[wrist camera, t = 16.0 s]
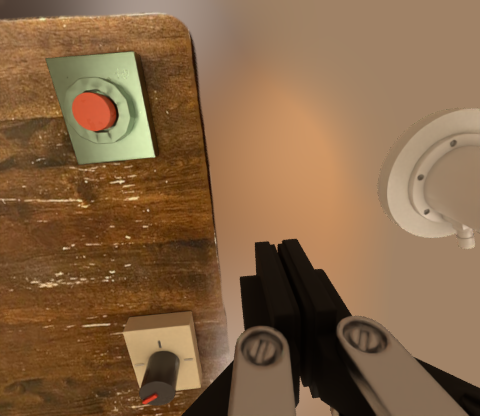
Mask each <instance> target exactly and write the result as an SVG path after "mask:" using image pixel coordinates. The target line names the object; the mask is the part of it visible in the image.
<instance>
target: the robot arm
mask: <svg viewBox="0 0 480 416" xmlns="http://www.w3.org/2000/svg"><path fill="white" fill-rule="evenodd" d="M408 196H409V200H410V203H411V205H412V207H413V209H414V210H415V211H416V212H417V213H418V214H419V215H421V216H422V217H424V218H426V219H428V220H430V221H432V222H438V223H451V224H452V225H453V229H455V230H457V235H456V236H457V243H458V246H459V247H460V248H464V249H470V248H473V247H474V246H475V240H474V234H473V230H476V231H477V232H478V233H480V134H478V133H458V134H453V135H451V136H448V137H445V138H444V139H442V140H440V141H438V142H437V143H435V144H434V145H433V146H431V147H430V148H429V149H428V150H427V151H426V152H425V153H424V154H423V155H422V156H421V158H420V159H419V160H418V162H417V163H416V165H415V167H414V169H413V171H412V173H411V176H410V179H409V185H408ZM255 258H256V275H254V276H243V277H240V286H241V298H242V309H243V319H244V328H245V331H244V332H243V333H242V334H241V335H240V336H239V338H238V339H237V342H236V346H235V354H234V360H233V361H232V362H231V363H230V365H229V366H228V367H227V368H226V369H225V370H224V371H223V372H222V373H221V374H220V375H219V376H218V377H217V378H216V379H215V380H214V382H213V383H212V384H211V385H210V386H209V387H208V388H207V389H206V390H205V391H204V392H203V393H202V394H201V395H200V396H199V397H198V399H197V400H196V401H195V402H194V403H193V404H192V405H191V406H190V407H189V408H188V409H187V410H186V411H185V412H184V413H183V414H182V416H296V410H295V408H296V406H297V405H298V403H299V385H300V378H301V381H302V384H303V386H304V387H307V386H309V388H310V392H311V395H312V398H318V397H320V399H321V400H322V401H323V402H325V403H326V404H328V405H329V406H330V411H331V414H332V416H480V388H478V387H476V386H474V385H472V384H470V383H467V382H465V381H463V380H461V379H459V378H457V377H455V376H453V375H451V374H449V373H446V372H444V371H442V370H440V369H438V368H436V367H434V366H432V365H430V364H427V363H425V362H423V361H421V360H419V359H417V358H415V357H413V356H412V355H411V354H410V353H409V352H408V351H407V350H406V349H405V348H404V347H403V346H402V345H401V344H400V342H399V341H398V340H397V339H396V338H395V337H394V336H393V335H392V334H391V333H390V332H389V331H388V330H387V329H386V328H385V327H384V326H382V325H381V324H380V323H378V322H376V321H374V320H372V319H370V318H366V317H362V316H352V315H351V313H350V312H349V310H348V309H347V307H346V305H345V304H344V302H343V301H342V299H341V297H340V296H339V294H338V293H337V291H336V289H335V288H334V286H333V285H332V283H331V281H330V280H329V278H328V277H327V275H326V273H325V272H324V271H323V270H322V269H315V270H314V268H313V266H312V265H311V263H310V261H309V259H308V258H307V256H306V254H305V252H304V251H303V249H302V247H301V245H300V244H299V242H298V240H297V239H288V240H283V241H282V244H278V253H277V250H276V247H275V245H274V244H273V245H270V244H269V242H256V243H255Z"/></svg>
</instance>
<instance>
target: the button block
mask: <svg viewBox="0 0 480 416" xmlns="http://www.w3.org/2000/svg"><path fill="white" fill-rule="evenodd" d="M46 62H47V65H48V69H49V72H50V75H51V78H52V81H53V85H54V88H55V91H56V94H57V97H58V101H59V104H60V107H61V110H62V113H63V117H64V120H65V123H66V126H67V129H68V133H69V136H70V139H71V142H72V145H73V149H74V152H75V155H76V158H77V161H78V164H79V165H80V164H91V163H101V162H111V161H122V160H132V159H143V158H153V157H156V156H157V155H159V150H158V145H157V140H156V135H155V130H154V125H153V120H152V115H151V109H150V104H149V99H148V94H147V89H146V84H145V79H144V74H143V69H142V63H141V58H140V55H139V54H137V53H136V52H134V51H129V52H117V53H105V54H92V55H80V56H68V57H56V58H46ZM86 92H89V93H99V94H102V95H104V96H106V97H107V98H109V99H110V100H111V102H112V103H113V104H114V106H115V109H116V120H115V122H114V124H113V125H112V126H111V127H110V128H108V129H104V130H99V131H91V130H87V129H85V128H83V127H82V126H81V125H80V124H79V123H78V122H77V121H76V119H75V118H74V115H73V112H72V104H73V101H74V99H75V98H76V97H77V96H78V95H79V94H82V93H86Z"/></svg>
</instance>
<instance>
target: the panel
mask: <svg viewBox="0 0 480 416" xmlns="http://www.w3.org/2000/svg"><path fill="white" fill-rule="evenodd" d="M123 334H124V338H125V341H126V344H127V348H128V351H129V354H130V357H131V361H132V364H133V367H134V371H135V374H136V377H137V381H138V384H139V387H141V384H142V380H143V377H144V373H145V370H146V366H147V363H148V359H149V357H150V356H151V355H152V354H154V353H156V352H159V351H169V352H172V353H174V354H175V355H177V356H178V358H179V360H180V366H179V373H178V379H177V385H176V390H185V389H194V388H201V377H202V369H201V363H200V357H199V351H198V346H197V340H196V334H195V328H194V322H193V316H192V311H186V312H176V313H167V314H157V315H147V316H137V317H129V319H128V321H127V323H126V326H125V328H124V330H123Z"/></svg>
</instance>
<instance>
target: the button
mask: <svg viewBox="0 0 480 416" xmlns="http://www.w3.org/2000/svg"><path fill="white" fill-rule="evenodd" d="M72 112H73V115H74V118H75V119H76V121H77V122H78V123H79V124H80V125H81V126H82V127H83V128H85V129H87V130H91V131H99V130H104V129H108V128H110V127H111V126H112V125H113V124H114V122H115V120H116V109H115V106H114V104H113V103H112V102H111V100H110V99H109V98H107V97H106V96H104V95H102V94H99V93H89V92H86V93H82V94H79V95H78V96H77V97H76V98H75V99H74V101H73V104H72Z"/></svg>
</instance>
